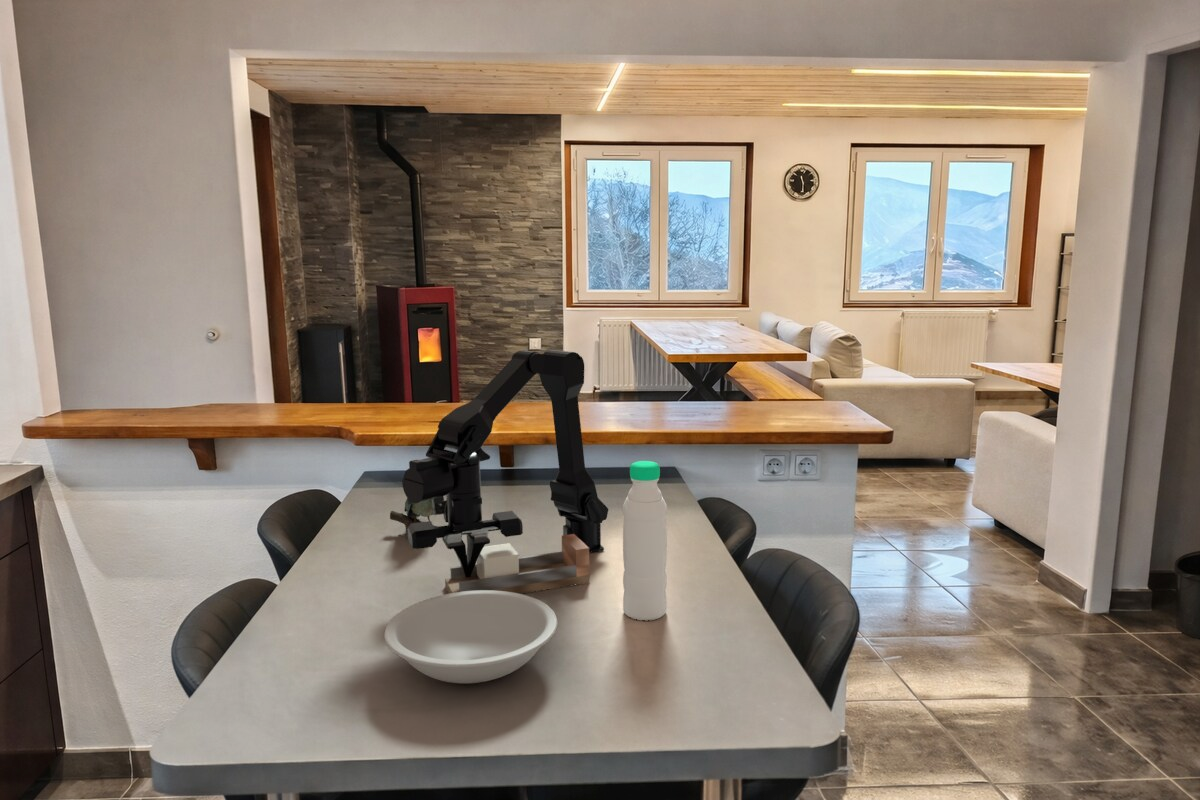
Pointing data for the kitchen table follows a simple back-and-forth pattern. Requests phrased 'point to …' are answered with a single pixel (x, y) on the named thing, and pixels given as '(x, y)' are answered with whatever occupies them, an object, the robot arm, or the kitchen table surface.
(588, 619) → the kitchen table surface
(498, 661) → the soup bowl
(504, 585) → the track
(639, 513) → the water bottle
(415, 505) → the bird figurine
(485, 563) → the block
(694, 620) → the kitchen table surface
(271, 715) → the kitchen table surface
